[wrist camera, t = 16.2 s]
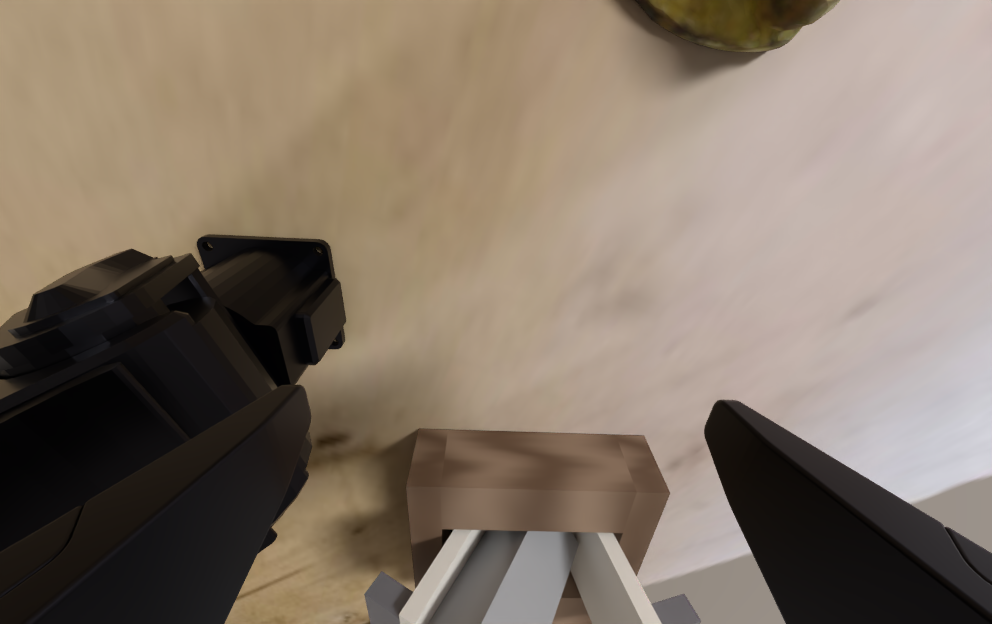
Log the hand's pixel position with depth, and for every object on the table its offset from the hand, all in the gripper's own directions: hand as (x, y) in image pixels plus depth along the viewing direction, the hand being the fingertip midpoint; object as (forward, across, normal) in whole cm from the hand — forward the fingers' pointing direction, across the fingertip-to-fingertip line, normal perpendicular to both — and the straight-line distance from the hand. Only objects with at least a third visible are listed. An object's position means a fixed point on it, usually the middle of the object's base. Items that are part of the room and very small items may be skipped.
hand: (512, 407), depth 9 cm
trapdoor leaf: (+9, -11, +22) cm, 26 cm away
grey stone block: (+12, -4, +22) cm, 25 cm away
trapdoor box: (+13, -3, +22) cm, 26 cm away
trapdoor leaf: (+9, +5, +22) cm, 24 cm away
